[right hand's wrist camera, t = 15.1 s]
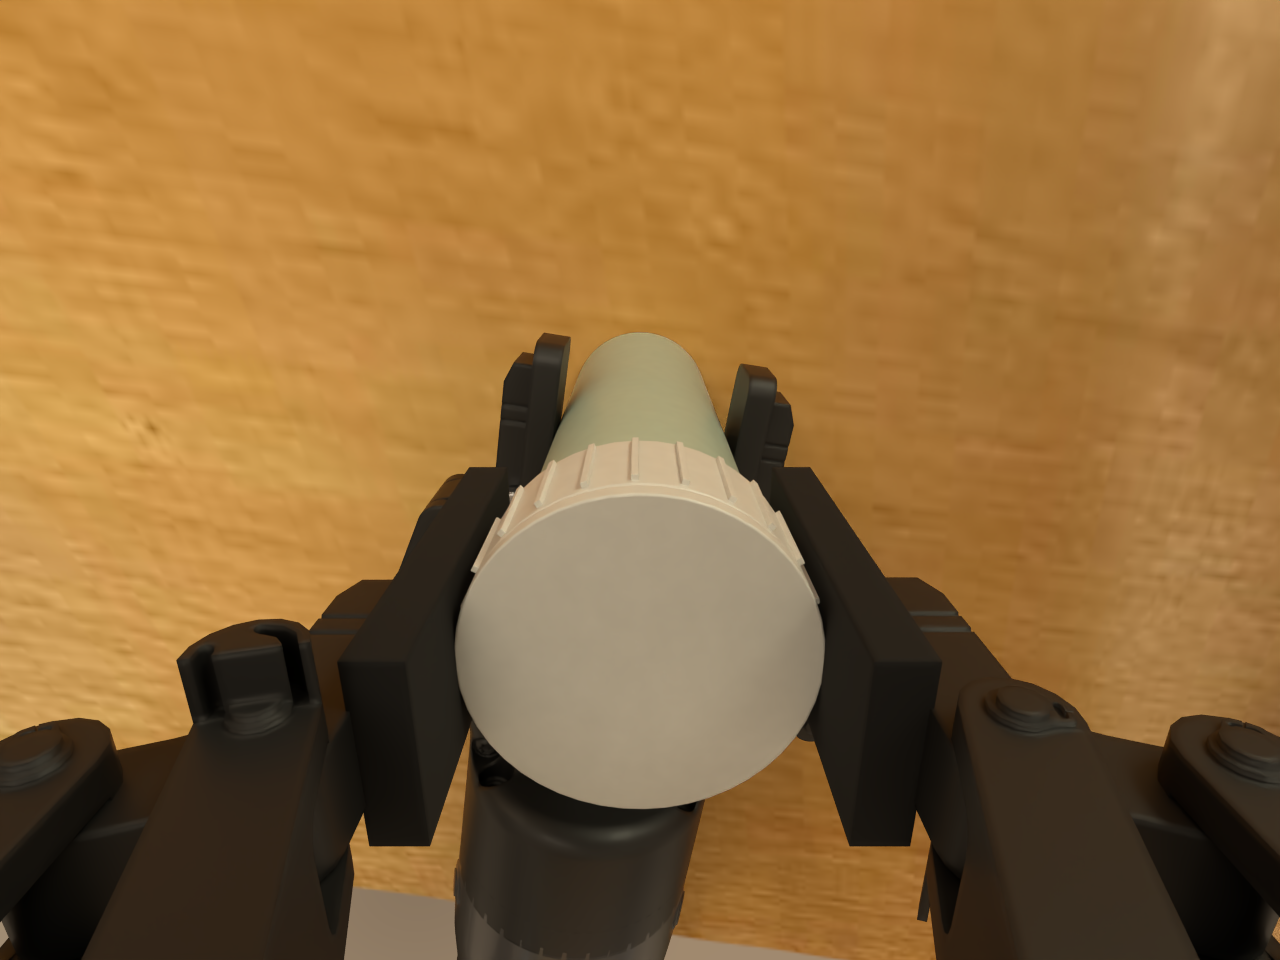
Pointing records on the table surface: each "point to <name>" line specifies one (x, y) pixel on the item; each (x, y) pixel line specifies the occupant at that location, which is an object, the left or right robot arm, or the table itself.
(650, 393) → the jar
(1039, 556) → the table surface
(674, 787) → the lid
